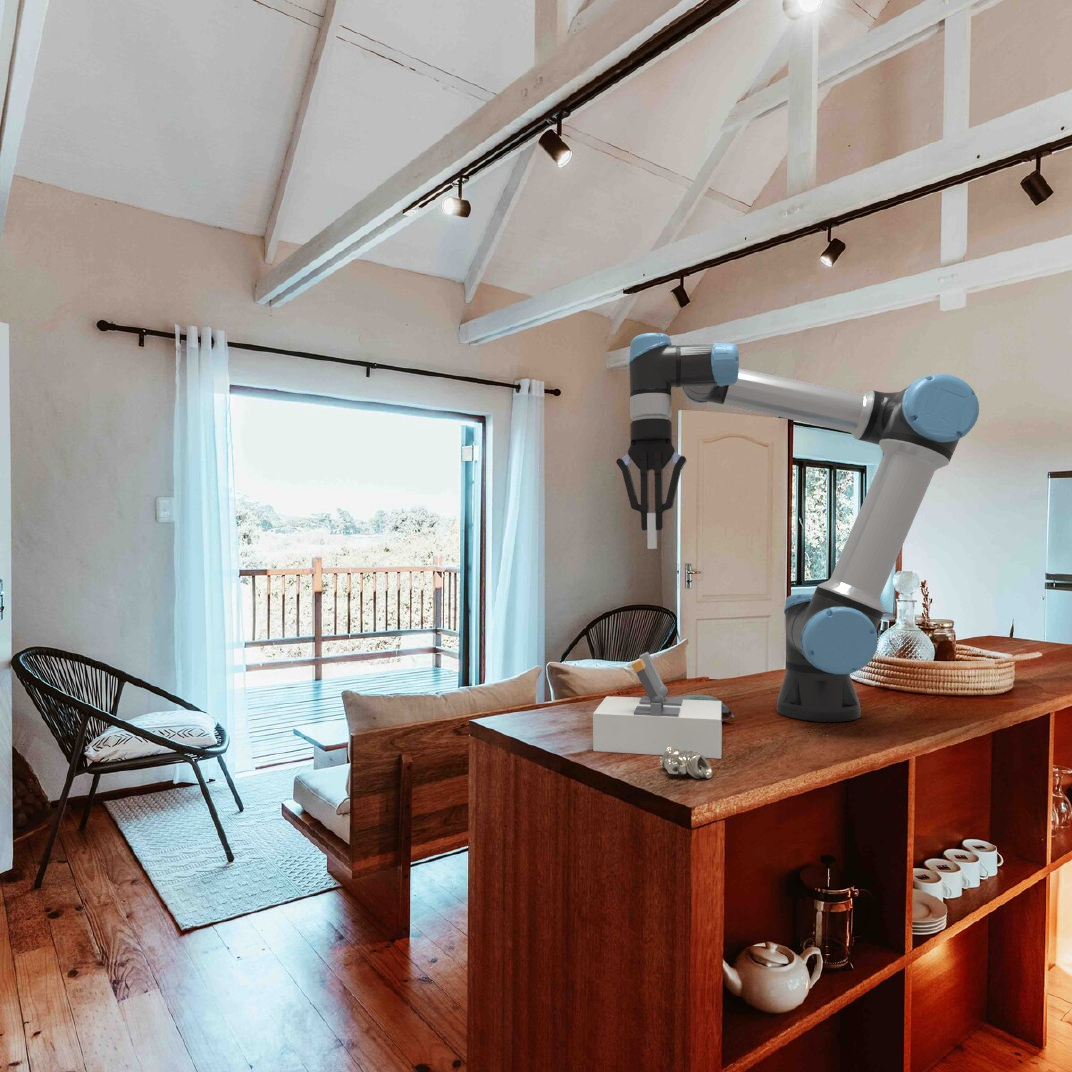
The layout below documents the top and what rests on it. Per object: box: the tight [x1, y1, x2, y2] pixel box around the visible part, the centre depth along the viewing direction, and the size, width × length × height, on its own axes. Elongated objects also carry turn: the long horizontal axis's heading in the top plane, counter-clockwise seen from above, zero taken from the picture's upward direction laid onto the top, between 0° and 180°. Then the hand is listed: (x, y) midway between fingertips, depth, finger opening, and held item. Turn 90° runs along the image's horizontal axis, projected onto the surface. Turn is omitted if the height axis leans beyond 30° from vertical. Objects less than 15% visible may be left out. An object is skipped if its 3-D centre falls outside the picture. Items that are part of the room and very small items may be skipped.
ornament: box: [659, 747, 713, 779], centre depth 108 cm, size 8×7×4 cm
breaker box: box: [592, 651, 723, 760], centre depth 124 cm, size 20×14×14 cm
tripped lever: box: [630, 658, 664, 707], centre depth 121 cm, size 2×3×8 cm
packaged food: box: [673, 694, 735, 722], centre depth 140 cm, size 9×12×5 cm
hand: (652, 548), depth 137 cm, fingers closed
